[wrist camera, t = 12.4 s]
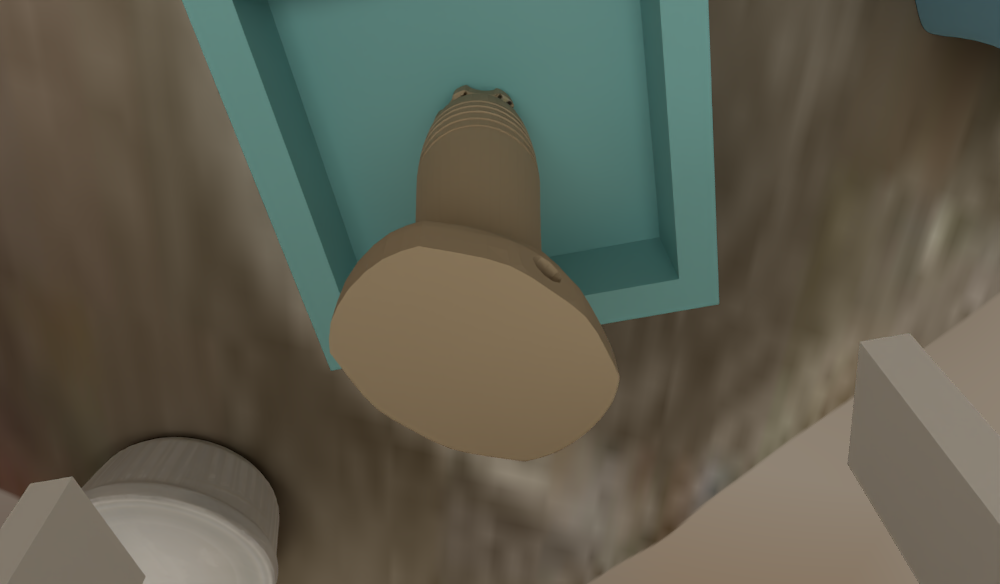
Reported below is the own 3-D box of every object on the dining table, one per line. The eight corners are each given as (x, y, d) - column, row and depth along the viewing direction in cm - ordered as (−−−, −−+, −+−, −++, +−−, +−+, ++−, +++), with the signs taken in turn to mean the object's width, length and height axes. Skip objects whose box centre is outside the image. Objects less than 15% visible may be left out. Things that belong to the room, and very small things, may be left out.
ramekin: (44, 487, 40) (-11, 569, 35) (171, 382, 36) (128, 459, 32) (209, 584, 44) (179, 667, 40) (337, 500, 41) (319, 581, 36)
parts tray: (211, -62, 25) (164, -44, 22) (666, -163, 24) (702, -164, 20) (347, 310, 34) (331, 370, 30) (690, 249, 33) (719, 304, 29)
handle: (448, 17, 26) (419, 201, 13) (582, 123, 28) (662, 366, 16) (375, 119, 28) (288, 363, 15) (504, 211, 30) (521, 489, 18)
